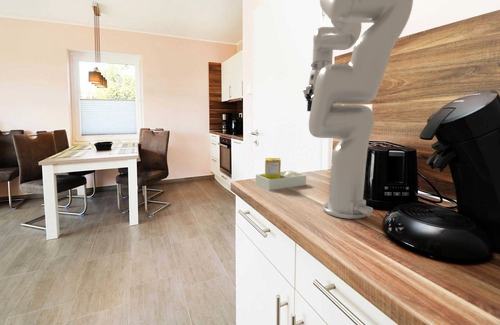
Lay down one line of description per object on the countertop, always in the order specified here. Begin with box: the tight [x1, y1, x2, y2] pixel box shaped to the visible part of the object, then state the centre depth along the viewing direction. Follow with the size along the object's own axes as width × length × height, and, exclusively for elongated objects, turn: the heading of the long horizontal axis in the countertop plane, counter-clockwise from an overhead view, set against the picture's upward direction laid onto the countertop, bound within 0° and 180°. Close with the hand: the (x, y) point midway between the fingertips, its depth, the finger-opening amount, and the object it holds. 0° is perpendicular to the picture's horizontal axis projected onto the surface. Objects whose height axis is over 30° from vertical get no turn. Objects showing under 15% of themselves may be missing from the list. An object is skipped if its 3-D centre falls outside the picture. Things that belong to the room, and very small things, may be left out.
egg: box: [284, 170, 295, 177], centre depth 109 cm, size 5×5×5 cm
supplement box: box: [264, 157, 282, 179], centre depth 104 cm, size 6×6×11 cm
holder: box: [255, 170, 307, 191], centre depth 107 cm, size 10×18×5 cm, turn 119°
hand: (319, 111), depth 107 cm, fingers open, 9 cm apart
